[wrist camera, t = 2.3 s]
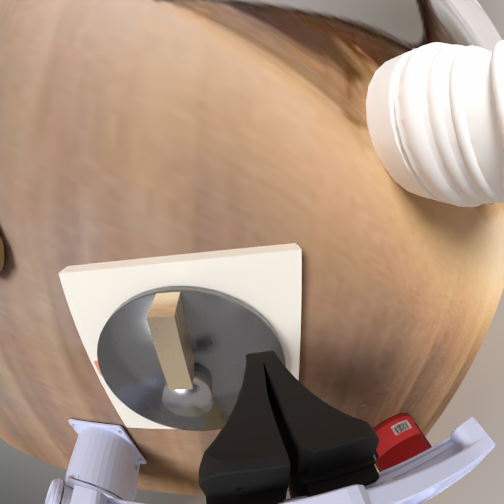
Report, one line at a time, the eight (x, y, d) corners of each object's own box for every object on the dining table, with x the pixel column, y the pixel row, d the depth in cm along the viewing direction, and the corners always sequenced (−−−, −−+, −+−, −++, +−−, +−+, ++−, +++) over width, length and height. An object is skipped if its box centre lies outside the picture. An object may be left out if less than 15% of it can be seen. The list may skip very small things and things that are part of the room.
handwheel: (282, 414, 23) (291, 445, 20) (133, 422, 22) (127, 452, 18) (282, 274, 19) (298, 302, 15) (76, 292, 17) (52, 320, 13)
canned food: (355, 440, 31) (382, 496, 20) (399, 406, 29) (435, 461, 19) (377, 446, 33) (401, 494, 23) (415, 417, 32) (446, 463, 21)
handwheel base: (292, 406, 26) (296, 418, 24) (129, 417, 24) (126, 428, 22) (295, 243, 20) (302, 250, 18) (67, 266, 18) (57, 274, 17)
